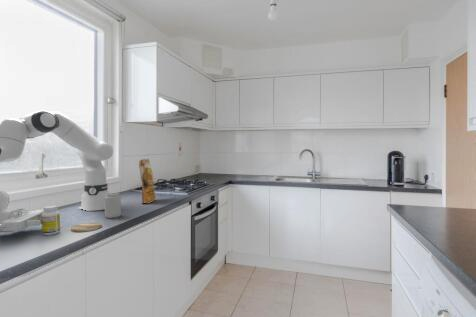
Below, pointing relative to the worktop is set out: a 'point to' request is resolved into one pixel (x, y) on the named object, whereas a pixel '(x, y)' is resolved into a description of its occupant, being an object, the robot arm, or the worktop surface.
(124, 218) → the worktop surface
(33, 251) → the worktop surface
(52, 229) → the pill bottle
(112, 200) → the can
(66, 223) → the worktop surface
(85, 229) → the coaster
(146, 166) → the pancake mix bag
